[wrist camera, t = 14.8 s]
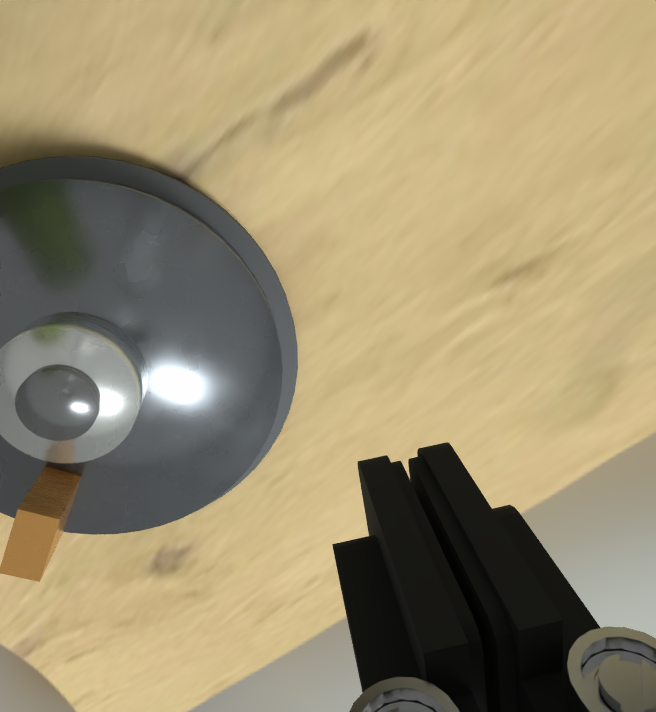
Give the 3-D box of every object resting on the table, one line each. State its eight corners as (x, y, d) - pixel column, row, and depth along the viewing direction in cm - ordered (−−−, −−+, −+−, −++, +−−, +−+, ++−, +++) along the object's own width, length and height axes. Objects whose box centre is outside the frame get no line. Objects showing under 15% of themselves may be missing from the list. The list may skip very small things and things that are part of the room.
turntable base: (-191, 204, 28) (-211, 207, 26) (248, 117, 29) (248, 116, 28) (-11, 554, 36) (-20, 569, 35) (326, 474, 37) (329, 485, 36)
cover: (24, 292, 28) (-8, 313, 24) (164, 337, 30) (153, 363, 26) (-7, 413, 30) (-40, 449, 26) (127, 449, 32) (112, 487, 28)
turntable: (-59, 107, 26) (-133, 98, 21) (335, 266, 31) (352, 290, 26) (-133, 466, 31) (-206, 528, 26) (213, 551, 36) (208, 617, 31)
